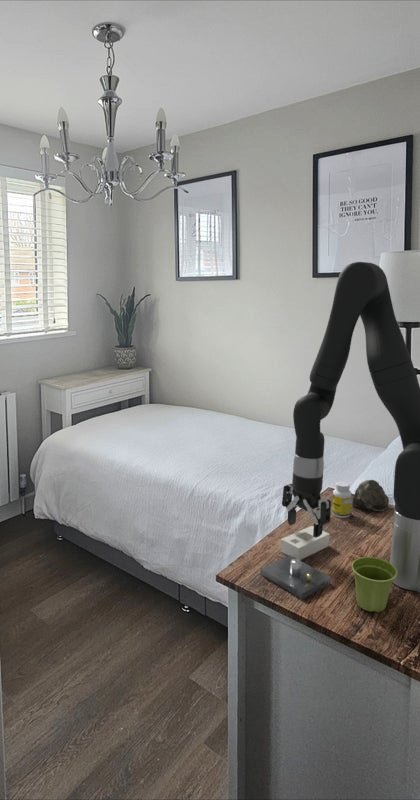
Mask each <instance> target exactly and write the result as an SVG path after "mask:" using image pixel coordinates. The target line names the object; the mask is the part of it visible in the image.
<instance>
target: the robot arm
mask: <svg viewBox="0 0 420 800" xmlns="http://www.w3.org/2000/svg"><path fill="white" fill-rule="evenodd" d="M391 297H392V296H391V292H390V287H389V282H388V278H387V275H386V274H385V272H384V270H383V269H382V268H381V267H380V266H379V265H377V264H376V263H373V262H368V261H367V262H365V261H355V262H352V263H349V264H347V265H346V266H345V267H344V268H342V270H341V271H340V272H339V275H338V279H337V282H336V286H335V291H334V296H333V301H332V305H331V310H330V314H329V318H328V322H327V325H326V329H325V333H324V336H323V337H322V341H321V344H320V346H319V350H318V352H317V355H316V358H315V360H314V362H313V365H312V368H311V371H310V375H309V381H310V386H309V389H308V391H307V394H306V395H304V396H301V397H300V398H299V399H297V401H296V403H295V404H294V408H293V411H292V412H293V413H292V414H293V415H292V416H293V417H292V418H293V425H294V426H293V427H294V434H295V450H294V458H293V465H292V466H293V467H292V482H291V483H289V484H285V485H283V491H282V499H281V505H282V507H285V509H286V510H287V522H288V525H289V526H292V525H295V524H296V522H297V508H300V509H303V510H304V511H306V512H308V514H309V516H310V517H311V518H312V520H313V522H314V523H313V526H314V530H313V537H315V538H317V537H319V536H320V535H322V531H324V530H323V527H324V526H325V525H327V524H329V523H331V516H332V515H331V513H332V502H331V500H330V499H326V500H325V499H322V498H321V492H322V490H323V481H324V480H323V479H324V469H325V461H324V460H325V459H324V457H325V456H324V453H325V441H326V440H325V436H324V433H322V432H321V420H324V419H325V418H326V417H327V416H328V415H329V414H330V412H331V409H332V407H333V405H334V401H335V396H336V393H337V387H338V384H339V382H340V380H341V378H342V375H343V372H344V370H345V368H346V365H347V362H348V359H349V356H350V351H351V347H352V346H351V345H352V339H353V334H354V331H355V328H356V325H357V323H358V320H359V318H360V319H361V322H362V325H363V329H364V335H365V351H366V353H365V354H366V362H367V368H368V371H369V374H370V377H371V380H372V384H373V386H374V389H375V391H376V393H377V396H378V399H380V401H381V403H382V404H383V405H384V407H385V408H386V409H387V411H388V413H389V415H390V416H391V417H392V419H393V421H394V422H395V425H396V427H397V430H398V434H399V437H400V440H401V445H402V451H401V452H400V453H399V454H398V456H397V459H396V461H395V466H394V475H393V478H394V479H393V492H392V493H393V500H394V501H393V502H394V513H393V522H392V523H393V524H392V533H391V534H392V535H391V546H390V556H389V557H390V558H389V563H391V564H392V565H394V566H395V568H396V569H397V572H398V573H397V577H396V578H395V579H394V581H393V583H392V584H394V585H396V586H397V587H399V588H402V589H404V590H409V591H415V592H418V593H420V383H419V380H418V375H417V373H416V369H415V367H414V363H413V360H412V357H411V354H410V352H409V350H408V346H407V345H406V344H407V343H406V342H405V339H404V336H403V333H402V331H401V328H400V326H399V324H398V321H397V318H396V313H395V311H394V305H393V302H392V298H391ZM315 510H316V511H315Z"/></svg>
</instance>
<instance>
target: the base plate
mask: <svg viewBox="0 0 420 800" xmlns="http://www.w3.org/2000/svg"><path fill="white" fill-rule="evenodd" d="M260 575H262V576H263V577H264V578H267V580H269V581H271V582H273V583H274V584H276V585H277V586H279V587H281V588H283V589H284V590H286V591H287V592H288V593H291V594H292V595H294V596H295V597H297V598H299V599H300V600H304V599H305V598H308V597H310V596H311V595H313V594H315V593H317V592H319V591H320V590H322V589H324V588H326V587H327V586H330V585H331V584H332V577H331V576H329V575H328V574H326V573H324V572H322V571H320V570H318V569H316V568H314V567H313V566H311V565H309V564H307V563H305V562H303V561H302V559H301V560H299V559H296V558H294V557H292V556H291V555H289V556H288V555H287V556H284V557H282V558H280V559H279V560H278V559H277V560H276V561H274V562H272V563H269V564H267V565H265V566H264V567H263V566H262V567H261V568H260Z"/></svg>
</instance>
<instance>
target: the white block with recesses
mask: <svg viewBox="0 0 420 800" xmlns="http://www.w3.org/2000/svg"><path fill="white" fill-rule="evenodd" d="M313 530H314V525H310V526H307V527H306V528H303V529H301V530H299V531H296V532H294V533H292V534H289V535H287V536H285V537H282V538H281V539H280V553H282V554H285V555H287V556H289V555H291V556H292V557H294V558H296V559H299V560H301V561H302V560H303V559H305V558H308V557H309V556H311V555H314V554H315V553H318V552H319V551H322V550H323V549H326V548H328V547H330V538H331V535H330V532H326V531H324V530H322V535H320V536H319V537H317V538H315V537H313Z"/></svg>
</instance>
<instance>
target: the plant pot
mask: <svg viewBox="0 0 420 800" xmlns="http://www.w3.org/2000/svg"><path fill="white" fill-rule="evenodd" d="M351 570H352V572H353V576H354V580H355V581H354V583H355V598H356V599H355V600H356V603H357V605H358V607H360V608H361V609H363V610H364V611H367V612H377V613H381V612H383V611H384V610H385V609H386V607H387V605H388V599H389V598H390V597H389V596H390V593H391V588H392V586H393V584H394V583H393V581H394V579H395V578H396V577H397V573H398V572H397V569H396V568H395V566H394V565H392V564H391V563H390V561H387V560H385V559H383V558H379V557H375V556H374V557H373V556H362V557H361V556H360V557H358V558H356V559H354V560H353V561H352V563H351Z"/></svg>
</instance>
